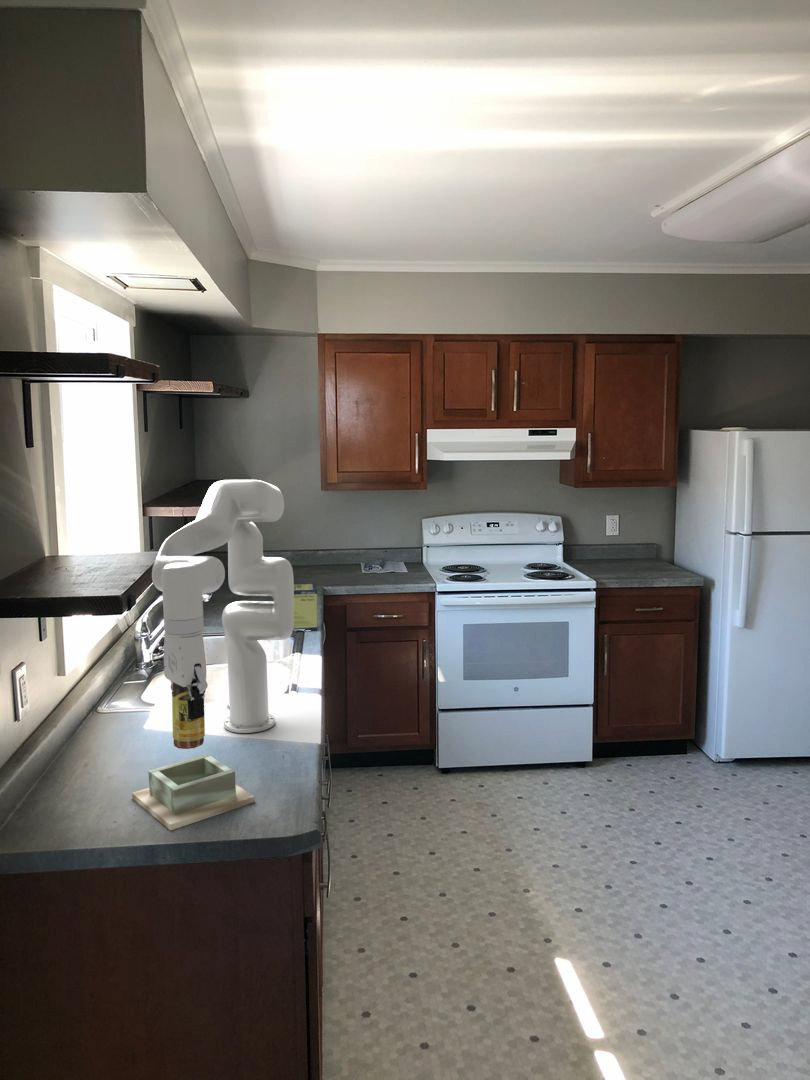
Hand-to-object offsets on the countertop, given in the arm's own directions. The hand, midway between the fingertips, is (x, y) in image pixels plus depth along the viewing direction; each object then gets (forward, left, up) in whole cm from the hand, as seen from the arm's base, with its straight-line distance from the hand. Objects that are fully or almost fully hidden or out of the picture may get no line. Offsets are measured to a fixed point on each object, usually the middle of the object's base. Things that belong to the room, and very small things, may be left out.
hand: (188, 712), depth 169 cm
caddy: (0, 0, -19) cm, 19 cm away
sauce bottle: (0, 0, -7) cm, 7 cm away
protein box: (-105, +92, -19) cm, 141 cm away
